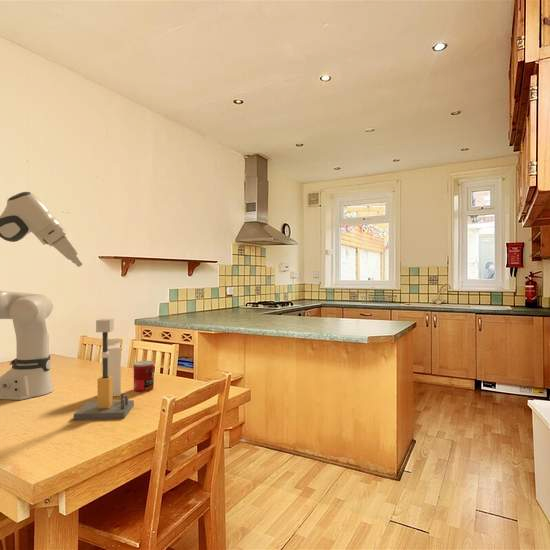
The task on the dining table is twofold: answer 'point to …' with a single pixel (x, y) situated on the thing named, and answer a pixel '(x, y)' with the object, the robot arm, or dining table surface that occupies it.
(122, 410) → the stand
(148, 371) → the canned food
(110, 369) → the milk
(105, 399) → the sleeve
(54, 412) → the dining table surface
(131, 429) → the dining table surface
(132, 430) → the dining table surface
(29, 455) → the dining table surface
